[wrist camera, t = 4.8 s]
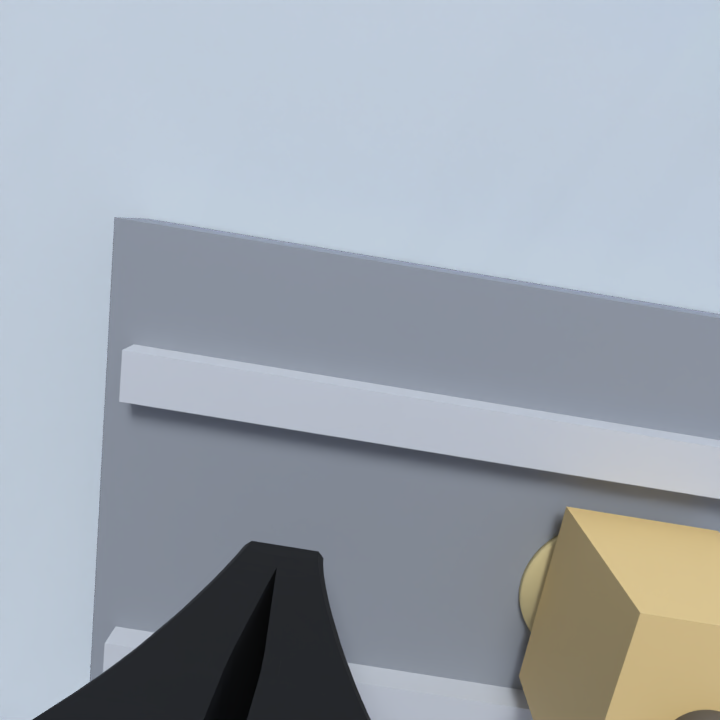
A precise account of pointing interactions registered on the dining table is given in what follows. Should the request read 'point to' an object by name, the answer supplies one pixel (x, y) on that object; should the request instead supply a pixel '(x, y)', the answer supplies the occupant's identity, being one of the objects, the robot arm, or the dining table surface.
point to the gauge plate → (383, 446)
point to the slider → (626, 623)
